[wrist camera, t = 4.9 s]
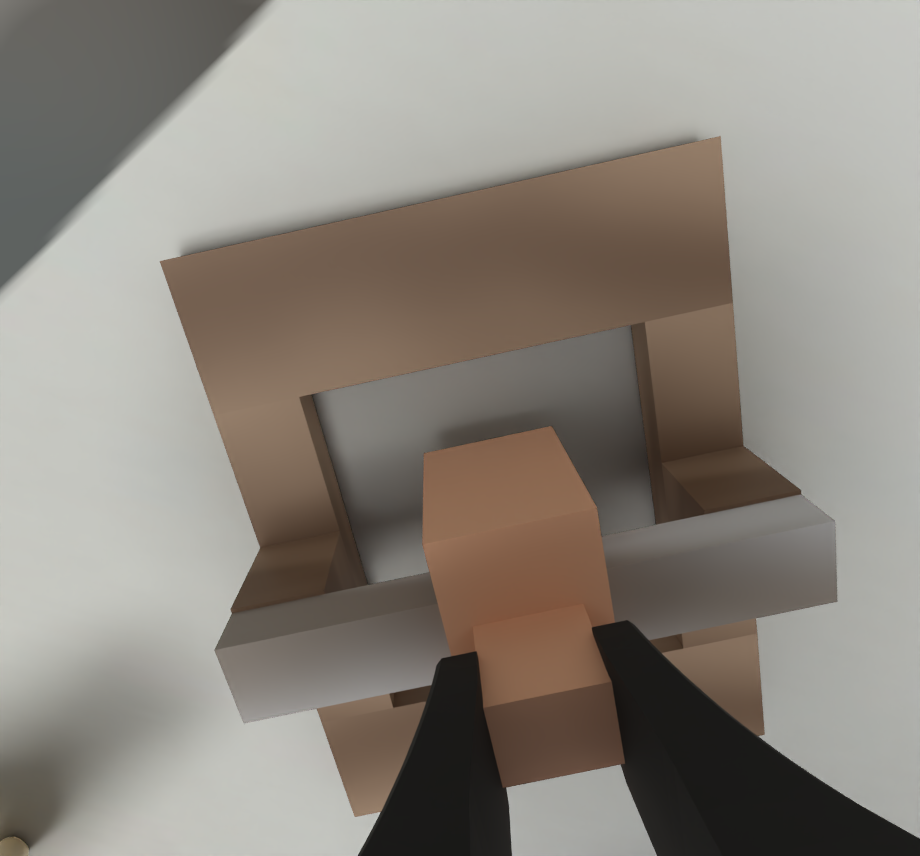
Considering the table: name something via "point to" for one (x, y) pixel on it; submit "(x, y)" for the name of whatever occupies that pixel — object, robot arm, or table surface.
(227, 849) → the table surface
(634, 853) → the table surface
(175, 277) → the brown wooden frame
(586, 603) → the block
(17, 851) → the unicorn
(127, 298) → the table surface
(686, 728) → the robot arm
